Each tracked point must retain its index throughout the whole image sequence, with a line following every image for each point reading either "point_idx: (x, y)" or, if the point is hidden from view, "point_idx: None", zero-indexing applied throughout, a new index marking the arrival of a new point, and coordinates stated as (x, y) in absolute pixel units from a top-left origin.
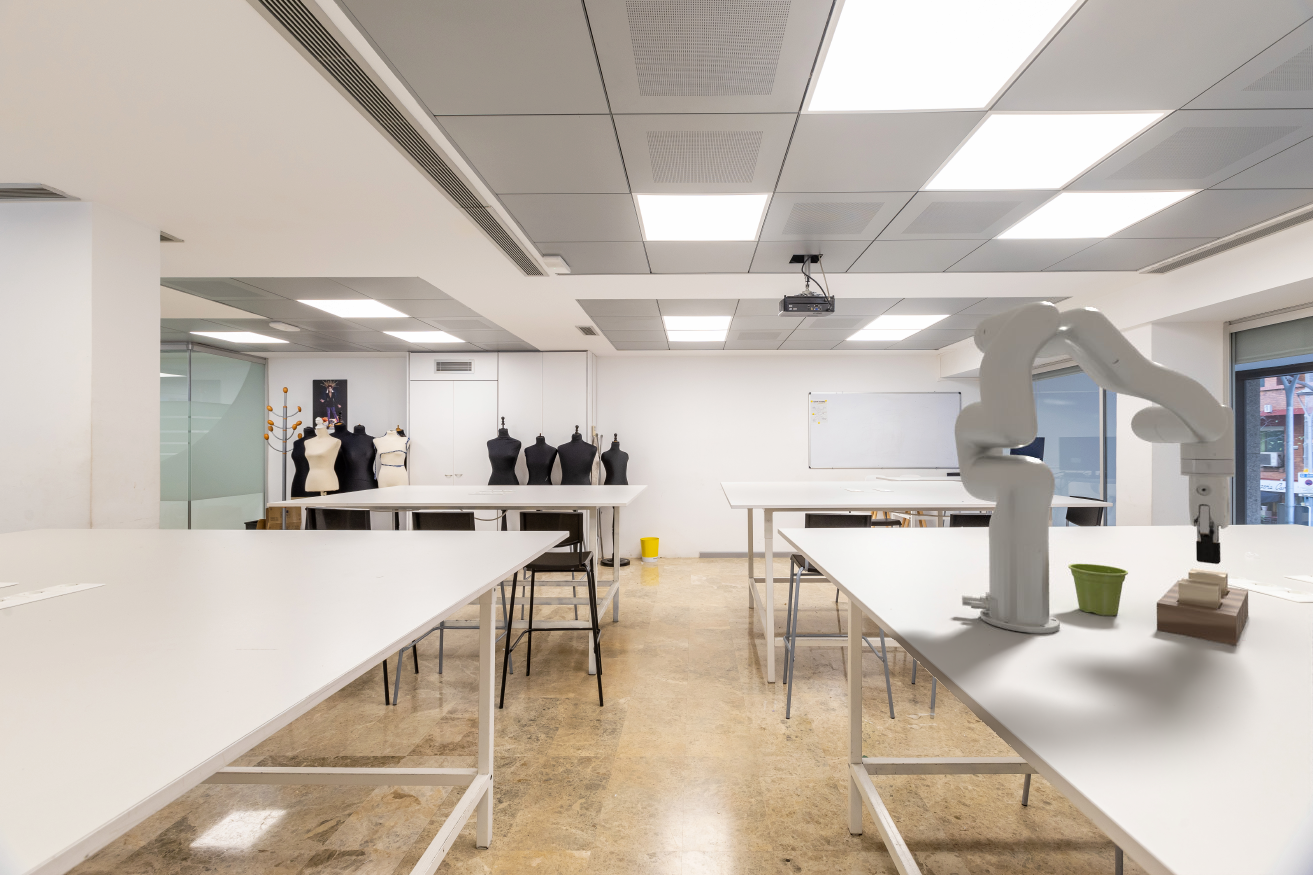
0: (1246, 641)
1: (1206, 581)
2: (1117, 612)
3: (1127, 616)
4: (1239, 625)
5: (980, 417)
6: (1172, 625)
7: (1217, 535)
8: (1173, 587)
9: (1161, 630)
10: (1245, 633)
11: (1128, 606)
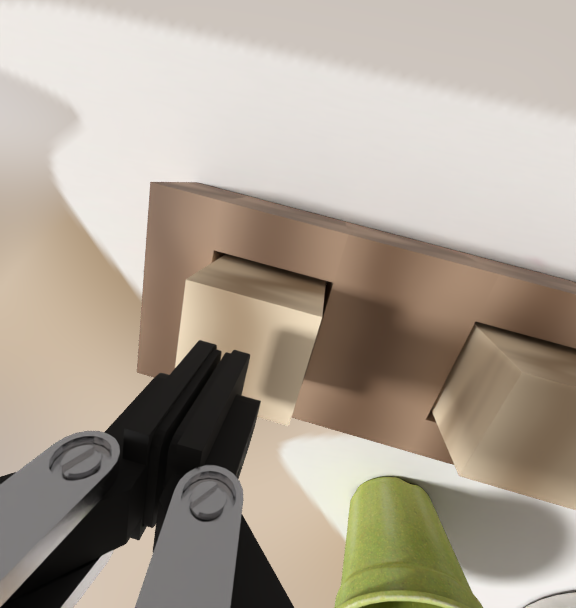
0: (549, 256)
1: (499, 414)
2: (409, 484)
3: (405, 460)
4: (532, 274)
5: None
6: None
7: (77, 504)
8: None
9: None
10: (447, 238)
11: (290, 441)
